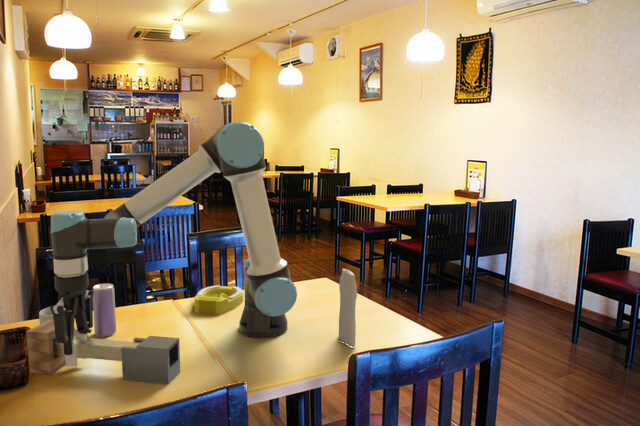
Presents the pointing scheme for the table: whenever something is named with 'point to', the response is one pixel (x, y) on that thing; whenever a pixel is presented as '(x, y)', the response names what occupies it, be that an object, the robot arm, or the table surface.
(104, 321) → the beverage can
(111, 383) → the table surface
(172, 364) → the sleeve
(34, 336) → the socket block
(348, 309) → the tall pale column
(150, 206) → the robot arm
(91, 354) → the beige square bar
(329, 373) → the table surface
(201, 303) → the ashtray
